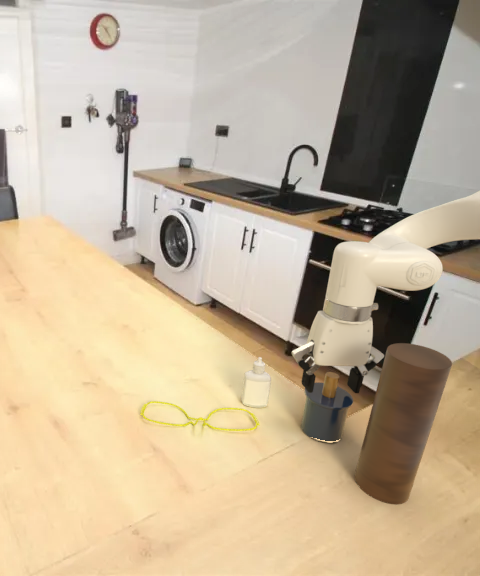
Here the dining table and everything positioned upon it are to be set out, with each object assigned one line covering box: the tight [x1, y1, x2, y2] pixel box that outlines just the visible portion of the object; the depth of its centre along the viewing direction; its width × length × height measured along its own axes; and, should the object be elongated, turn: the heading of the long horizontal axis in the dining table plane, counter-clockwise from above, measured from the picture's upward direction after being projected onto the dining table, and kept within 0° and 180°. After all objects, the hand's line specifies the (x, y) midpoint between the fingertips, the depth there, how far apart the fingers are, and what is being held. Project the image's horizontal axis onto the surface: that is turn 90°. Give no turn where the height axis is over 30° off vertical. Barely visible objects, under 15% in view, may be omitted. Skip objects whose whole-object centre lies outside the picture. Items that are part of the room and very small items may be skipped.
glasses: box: [139, 400, 260, 432], centre depth 88 cm, size 25×10×5 cm, turn 80°
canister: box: [300, 395, 350, 441], centre depth 84 cm, size 8×8×8 cm
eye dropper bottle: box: [240, 356, 272, 409], centre depth 92 cm, size 4×6×12 cm
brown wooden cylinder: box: [354, 342, 453, 505], centre depth 67 cm, size 8×8×26 cm
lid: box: [304, 371, 354, 410], centre depth 81 cm, size 9×9×5 cm
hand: (330, 388), depth 82 cm, fingers open, 8 cm apart
